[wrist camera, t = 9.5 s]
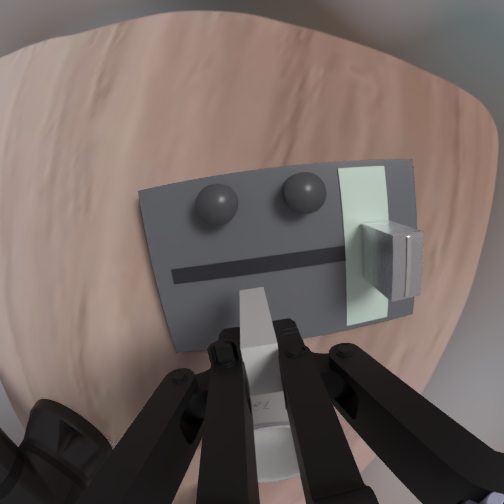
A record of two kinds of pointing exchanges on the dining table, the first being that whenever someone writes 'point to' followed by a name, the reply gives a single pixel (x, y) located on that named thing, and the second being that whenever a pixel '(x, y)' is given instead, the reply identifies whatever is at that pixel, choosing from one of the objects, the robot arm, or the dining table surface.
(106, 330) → the dining table surface
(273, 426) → the teacup
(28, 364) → the dining table surface
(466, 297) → the dining table surface
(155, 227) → the console
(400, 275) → the fader cap
